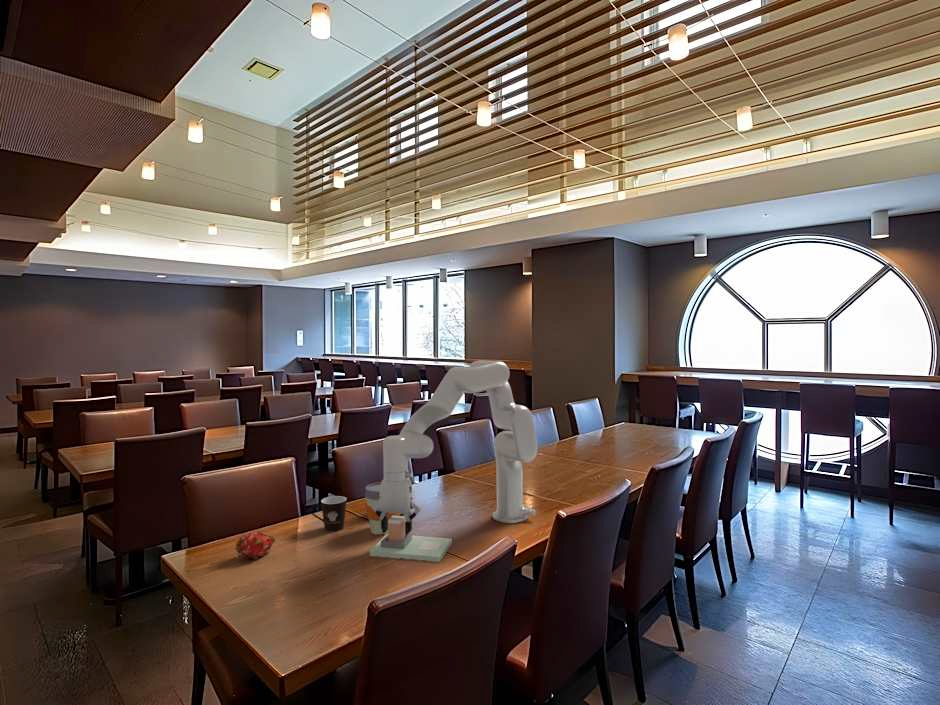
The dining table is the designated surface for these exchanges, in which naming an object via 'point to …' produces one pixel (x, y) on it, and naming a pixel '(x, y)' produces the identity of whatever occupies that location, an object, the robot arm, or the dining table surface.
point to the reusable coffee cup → (372, 497)
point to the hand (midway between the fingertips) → (396, 531)
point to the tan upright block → (396, 528)
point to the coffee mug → (332, 512)
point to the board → (412, 548)
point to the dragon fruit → (254, 545)
